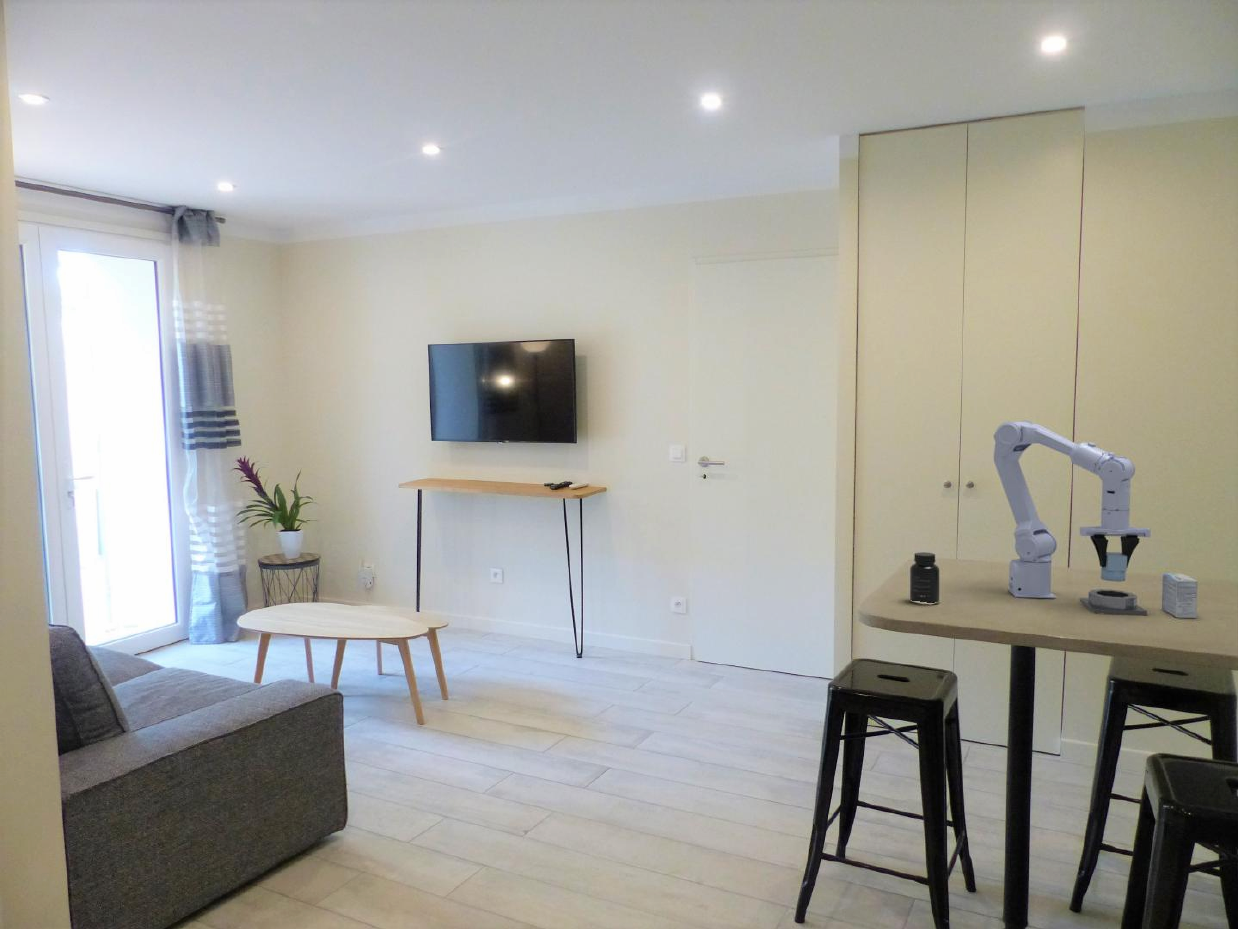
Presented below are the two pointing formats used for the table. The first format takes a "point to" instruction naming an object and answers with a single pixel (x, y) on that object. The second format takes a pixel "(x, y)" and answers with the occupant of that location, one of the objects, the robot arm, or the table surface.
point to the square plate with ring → (1112, 602)
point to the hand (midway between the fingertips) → (1113, 566)
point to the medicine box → (1179, 595)
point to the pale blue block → (1114, 567)
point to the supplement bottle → (924, 578)
